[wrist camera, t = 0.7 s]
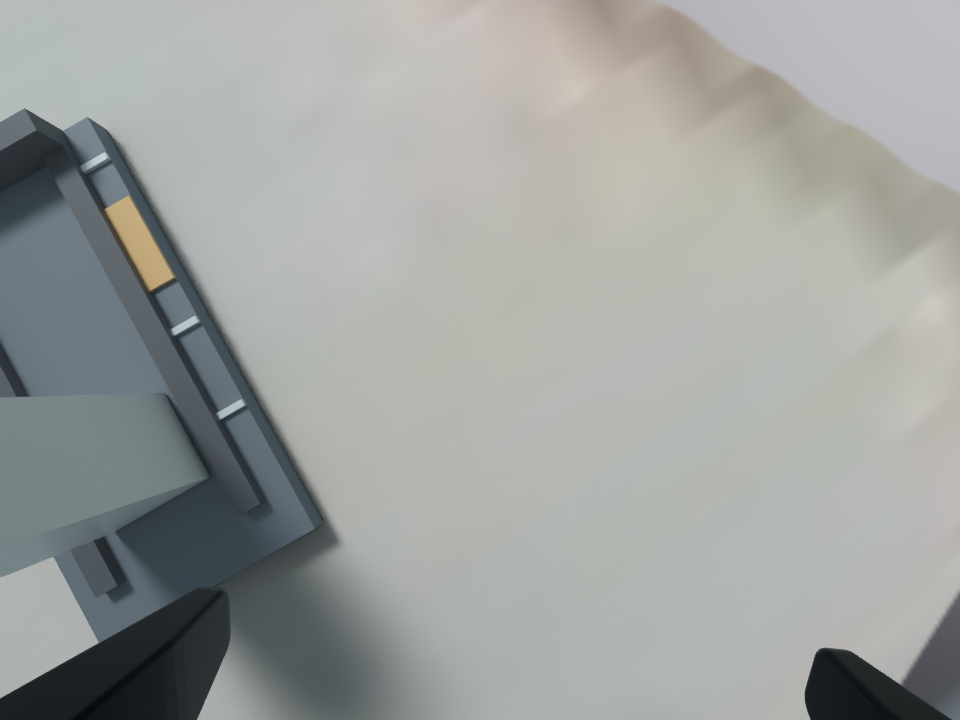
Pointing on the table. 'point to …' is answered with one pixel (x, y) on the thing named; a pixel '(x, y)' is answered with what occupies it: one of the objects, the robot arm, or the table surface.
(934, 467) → the table surface
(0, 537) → the fader cap
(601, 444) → the table surface
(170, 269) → the fader track base
